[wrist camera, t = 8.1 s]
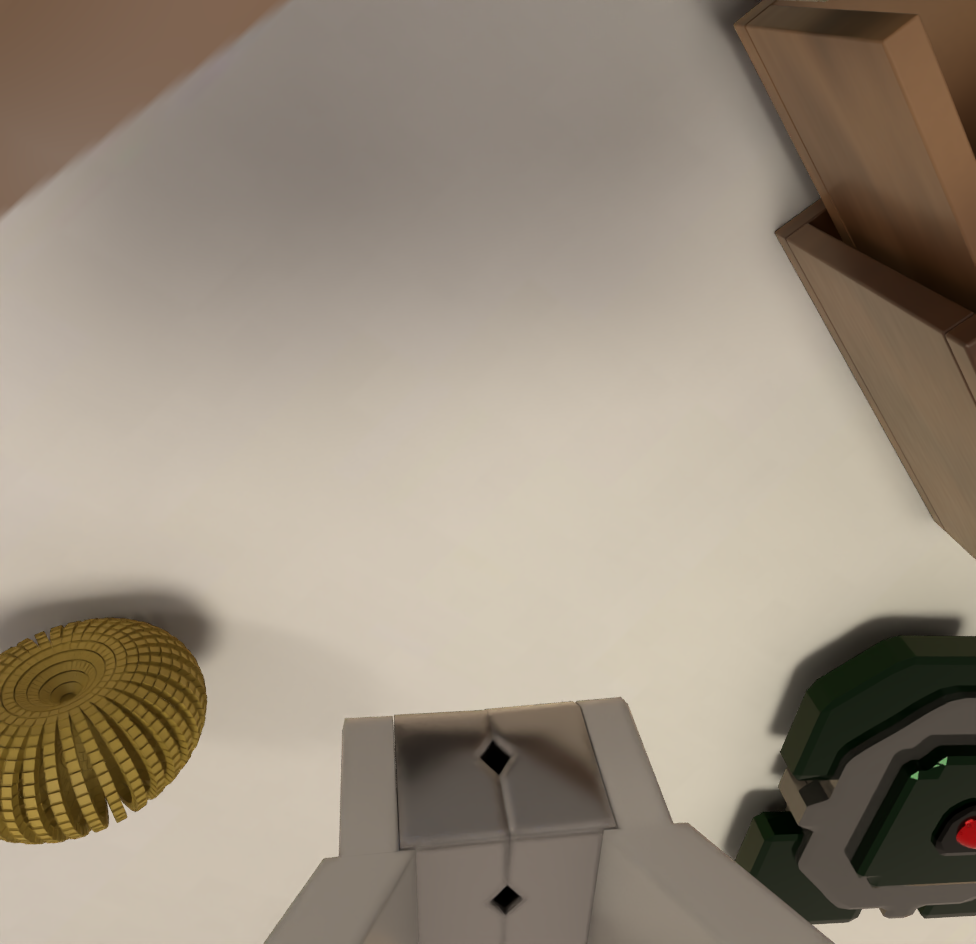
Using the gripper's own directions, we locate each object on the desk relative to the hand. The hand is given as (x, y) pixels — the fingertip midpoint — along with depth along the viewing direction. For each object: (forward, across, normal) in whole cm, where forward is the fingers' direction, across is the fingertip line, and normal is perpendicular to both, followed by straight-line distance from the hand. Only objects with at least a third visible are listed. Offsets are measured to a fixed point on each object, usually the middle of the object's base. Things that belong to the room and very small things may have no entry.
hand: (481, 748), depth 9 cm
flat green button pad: (+19, -25, +25) cm, 40 cm away
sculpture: (+19, +11, +14) cm, 26 cm away
